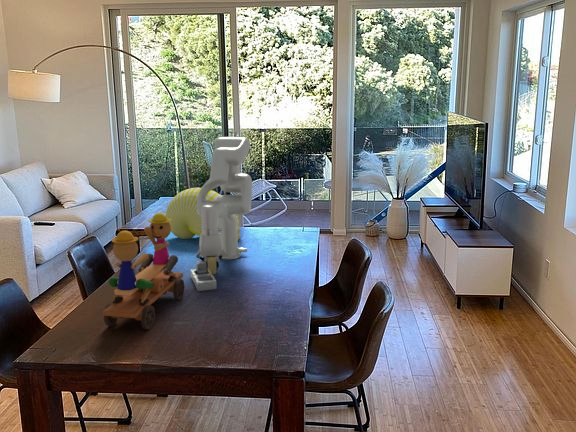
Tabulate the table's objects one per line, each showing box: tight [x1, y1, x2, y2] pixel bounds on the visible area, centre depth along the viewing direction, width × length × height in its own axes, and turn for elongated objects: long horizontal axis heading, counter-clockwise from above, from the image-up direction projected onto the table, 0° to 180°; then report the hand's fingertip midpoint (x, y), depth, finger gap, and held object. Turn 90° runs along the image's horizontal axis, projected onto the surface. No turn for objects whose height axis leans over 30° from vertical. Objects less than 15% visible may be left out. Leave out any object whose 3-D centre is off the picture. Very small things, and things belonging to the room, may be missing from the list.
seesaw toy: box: [102, 212, 185, 331], centre depth 217 cm, size 45×16×36 cm, turn 169°
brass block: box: [207, 256, 218, 275], centre depth 265 cm, size 4×4×8 cm
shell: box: [165, 187, 241, 241], centre depth 322 cm, size 44×31×30 cm
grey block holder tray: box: [190, 268, 218, 292], centre depth 252 cm, size 8×19×4 cm, turn 18°
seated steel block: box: [195, 260, 207, 275], centre depth 256 cm, size 4×4×8 cm
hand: (211, 269), depth 266 cm, fingers closed on brass block, 4 cm apart
